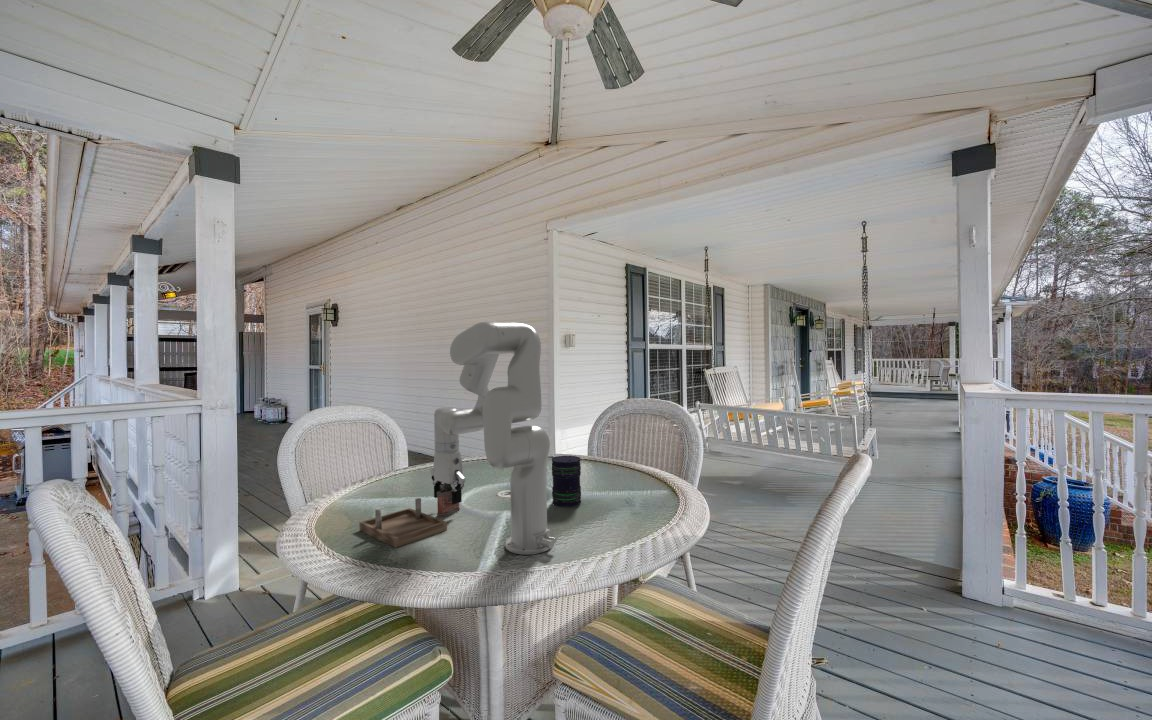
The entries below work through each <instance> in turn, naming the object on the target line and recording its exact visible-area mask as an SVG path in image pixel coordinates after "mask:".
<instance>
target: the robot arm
mask: <svg viewBox="0 0 1152 720" xmlns="http://www.w3.org/2000/svg"><path fill="white" fill-rule="evenodd" d="M541 344H542V342H541V338H540V336H539V333H538V332H537V330H536V329H535V328H534V327H532V326H531V325H529V324H526V323H521V322H515V321H512V322H511V321H481V322H478V323H476V324H473V325H472V326H470V327H468V328H466V330H464V331H462V332H460V333H459V334H458V335H456V336H455V338H454V339H453V341H452V342H451V344H450V348H449V356H450V359H451V361H452V362H453V363H454V364H455V365H459V366H463V367H462V369H461V373H460V376H459V384H460V385H461V387H462V388H463V389H465V390H466V391H467V392H470V393H472V394H475V395H477V400H476V403H475V405H474V407H470V408H468V407H467V408H462V409H461V408H459V409H457V408H455V407H440V408H436V409H435V411H434V412H433V413H434V414H433V415H434V416H433V419H434V420H433V423H434V424H433V425H434V427H433V428H434V456H433V468H431V469H430V474H431V480H432V484H433V497H434V499H437V492H438V491H441V490H440V485H442V484H444V483H446V484H450V485H451V487H452V489H453V491H452V504H457V503H459V504H460V503H461V502H462V500H463V499H462V490H463V488H464V487H465V482H466V477H465V476H464V470H463V459H462V455H461V451H460V435H463V434H469V433H477V432H480V431H481V430H483V442H484V443H483V444H484V451H485V452H484V453H485V457H486V459H487V462H488V463H489V465H490V466H491V467H492V468H493V469H494V468H495V469H496V470H497V469H498V470H503V469H508V468H509V469H510V468H513V469H512V471H511V474H510V475H511V476H510V480H509V481H510V482H509V483H510V485H509V486H510V488H509V491H510V493H509V494H510V499H509V500H510V537H508V538H507V539H506V541H505V549H506V550H507V551H508V552H510V553H512V554H516V555H517V554H518V555H523V556H524V555H529V556H531V555H538V554H541V553H544V552H547V551H549V550H551V549H553V548H554V546H555V544H556V543H557V541H558V540H557V538H556V537H554V536H551V529H550V528H548V512H547V511H548V509H547V507H548V506H547V505H548V504H547V497H548V496H547V494H548V493H547V486H548V485H547V473H548V472H547V470H548V468H547V467H548V460H549V453H550V445H551V444H550V442H551V441H550V437H549V435H548V433H547V431H546V430H545V429H544V428H542V427H540V426H537V425H524V426H517V427H514V428H513V427H512V424H517V423H522V422H528V421H532V420H535V419H536V418H539V416H540V415H541V412H542V390H541V389H542V387H541V385H542V384H541V371H540V369H541V368H540V365H541V364H540V363H541V352H542V345H541ZM502 354H504V355H505V354H513V355H512V357H511V359H510V361H509V364H508V366H507V372H506V373H507V386H499V387H495V388H492V389H489V387H488V386H489V383H490V380H491V378H492V375H493V372H494V370H495V368H496V363H497V361H498V358H499V356H500V355H502ZM455 484H457V485H455Z"/></svg>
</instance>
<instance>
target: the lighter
mask: <svg viewBox="0 0 1152 720" xmlns="http://www.w3.org/2000/svg"><path fill="white" fill-rule="evenodd" d="M441 484H442V485H440V490H441V491H438V492H437V498H436V499H437V513H436V516H437V517H436V518H444V516H445V517H448V516H451V515H450V514H452V515H454V514H456V513H455V512H457V511H459V510H461V509H460V503H457V504H452V491H453V489H452V487H451V485H450V484H446V483H441ZM455 486H457V484H455ZM459 512H460V511H459ZM453 513H454V514H453ZM457 513H458V512H457ZM447 515H448V516H447Z"/></svg>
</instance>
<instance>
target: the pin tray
mask: <svg viewBox="0 0 1152 720" xmlns="http://www.w3.org/2000/svg"><path fill="white" fill-rule="evenodd" d="M374 513H375V517H373V518H369V519H366V520H363V521H359V531H360V532H362V533H364V534H366V535H367V536H370V537H372V538H375V539H376V540H377V541H381V542H383V543H385V544H387V545H388V546H391V547H393V548H395V549H396V548H399V547H401V546H405V545H407V544H410V543H413V542H416V541H419V540H422V539H425V538H428V537H431V536H435V535H436V534H439V533H442V532H445V531H447V530H448V524H447V523H448V522H447V521H446V520H443V519H440V518H439V517H434V516H432V515H429V514H426V513H423V512H422V498H420V497H417V498H415V509H412V508H410V507H408V508H404V509H401V510H398V511H394V512H391V513H388V514H384V515H383V514H382V509H381V508H378V509H375V510H374Z"/></svg>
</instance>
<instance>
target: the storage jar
mask: <svg viewBox="0 0 1152 720" xmlns="http://www.w3.org/2000/svg"><path fill="white" fill-rule="evenodd" d="M581 469H582V466H581V457H580V456H576V455H559V456H554V457H552V458H551V476H552V487H551V490H552V492H551V497H552V505H553V504H554V505H553V506H554V507H559V508H574V507H577V506H580V505H581V504H582V500H581V499H582V487H581V473H582V471H581Z"/></svg>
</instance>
